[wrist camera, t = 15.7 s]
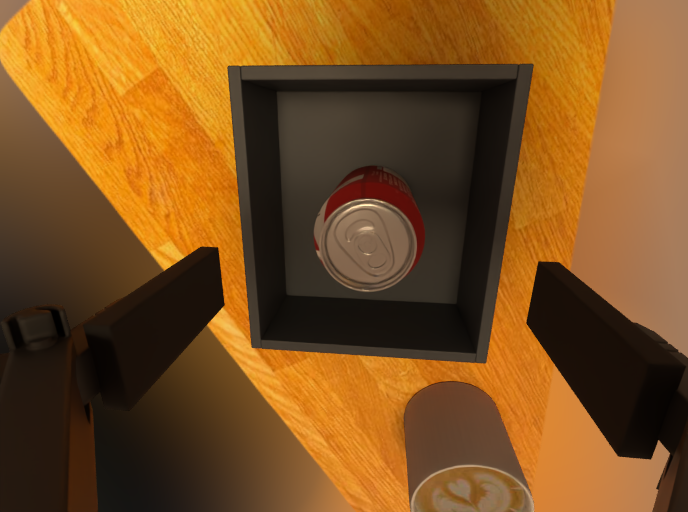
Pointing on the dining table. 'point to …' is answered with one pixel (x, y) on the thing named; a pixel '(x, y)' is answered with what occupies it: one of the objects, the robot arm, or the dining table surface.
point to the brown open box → (405, 159)
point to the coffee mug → (461, 453)
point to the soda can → (370, 230)
